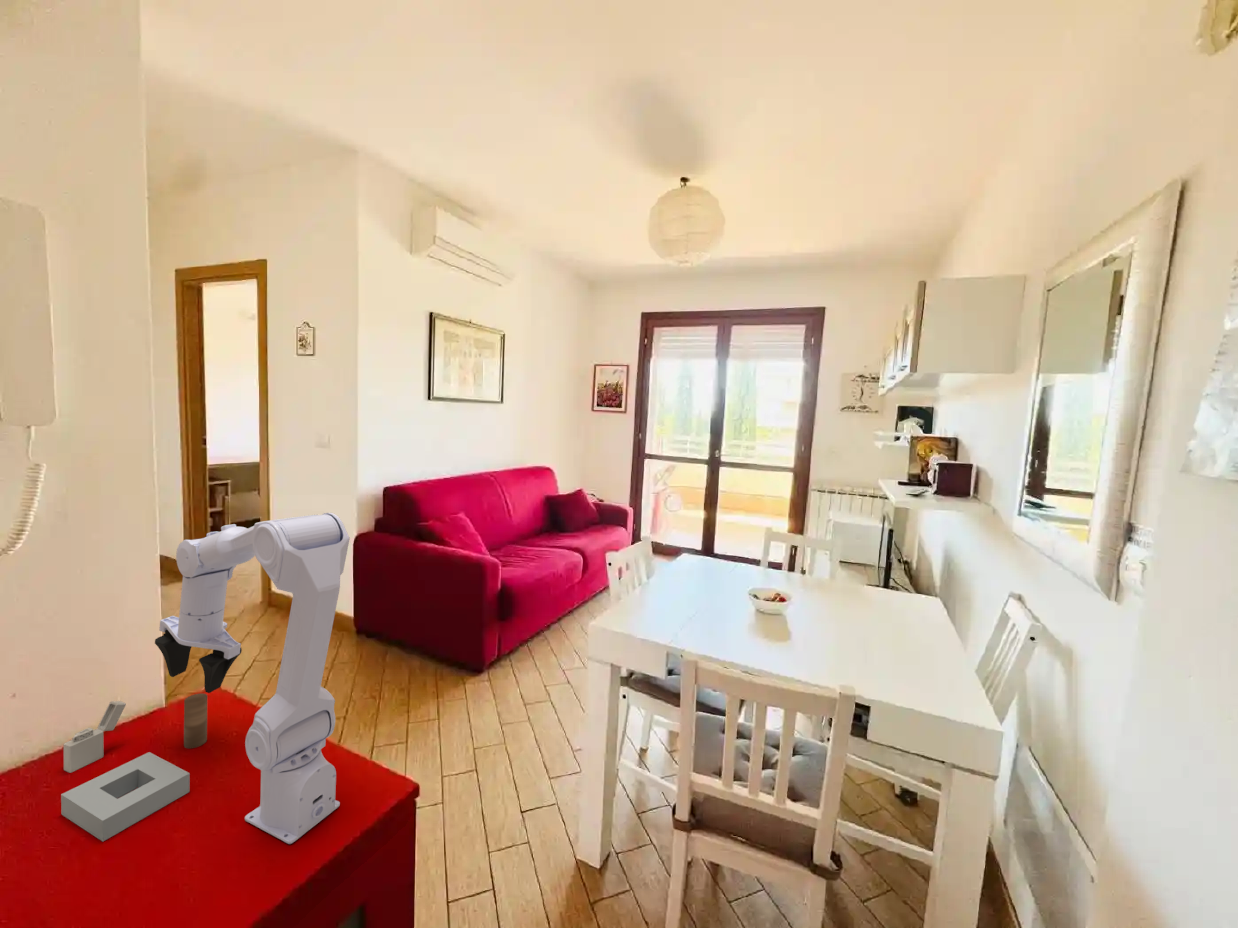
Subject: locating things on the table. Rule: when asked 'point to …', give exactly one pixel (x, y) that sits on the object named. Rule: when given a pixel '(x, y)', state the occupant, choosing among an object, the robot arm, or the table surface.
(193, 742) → the walnut peg
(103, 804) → the socket block
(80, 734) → the lighter
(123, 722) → the table surface
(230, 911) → the table surface
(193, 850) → the table surface
